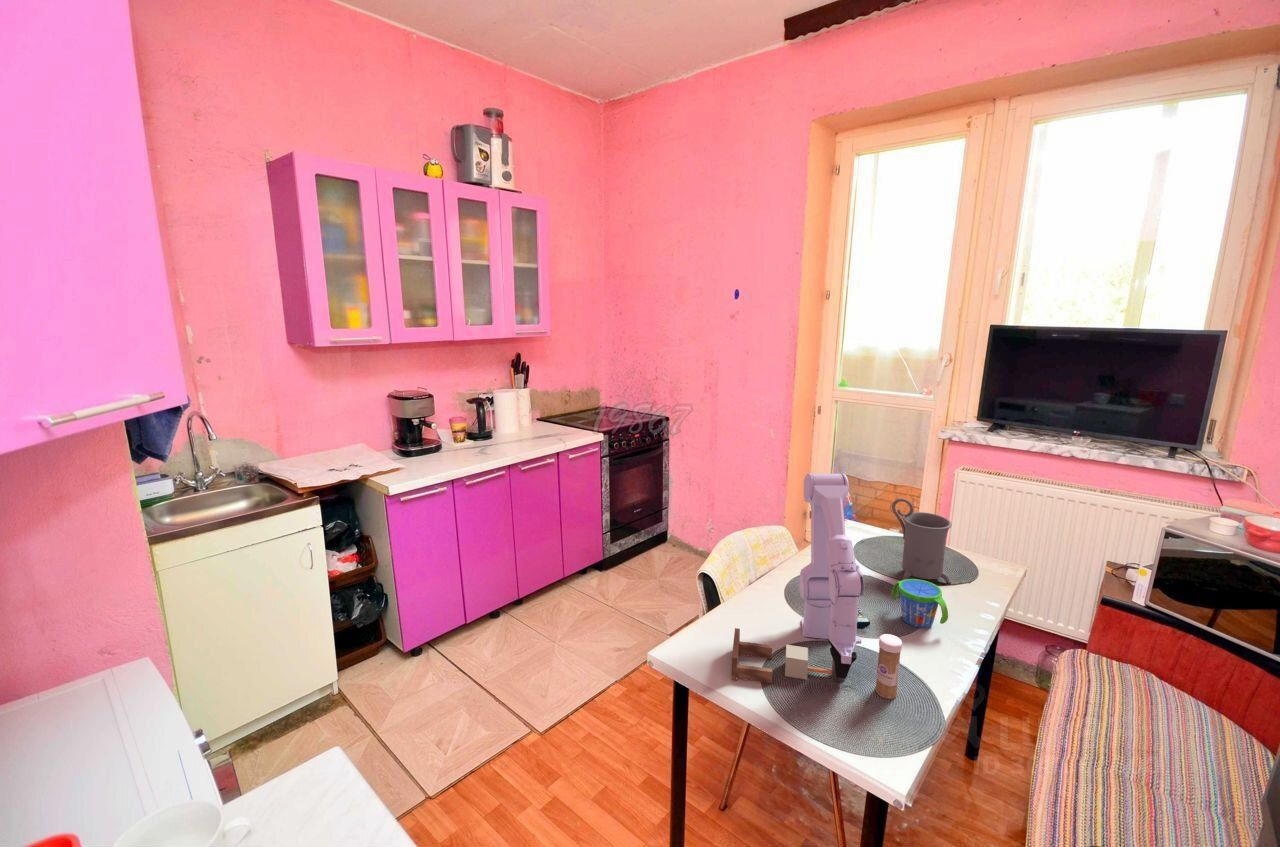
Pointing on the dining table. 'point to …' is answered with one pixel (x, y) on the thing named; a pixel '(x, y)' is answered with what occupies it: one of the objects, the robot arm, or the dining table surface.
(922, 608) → the snack cup
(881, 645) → the sprinkles bottle
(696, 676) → the dining table surface
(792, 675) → the multicoloured piece
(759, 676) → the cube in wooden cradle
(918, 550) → the mug
